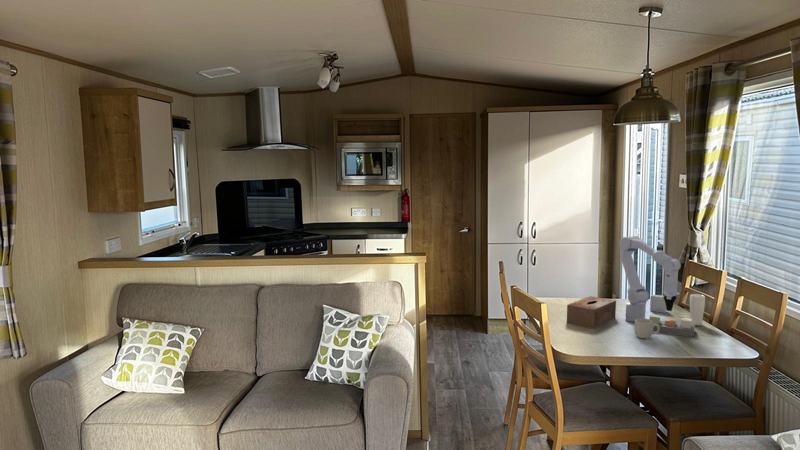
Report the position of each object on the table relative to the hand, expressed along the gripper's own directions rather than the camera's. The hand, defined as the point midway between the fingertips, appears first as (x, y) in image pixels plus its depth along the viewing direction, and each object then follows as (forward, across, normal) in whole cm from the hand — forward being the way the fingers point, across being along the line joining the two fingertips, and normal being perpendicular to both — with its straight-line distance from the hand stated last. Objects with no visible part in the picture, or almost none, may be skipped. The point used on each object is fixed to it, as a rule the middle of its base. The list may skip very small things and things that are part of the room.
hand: (669, 310), depth 281 cm
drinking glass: (+9, +15, -12) cm, 21 cm away
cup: (+9, -21, +8) cm, 24 cm away
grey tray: (+9, -4, -1) cm, 10 cm away
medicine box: (+10, +33, +8) cm, 35 cm away
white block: (+6, -3, -8) cm, 11 cm away
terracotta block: (+8, -3, -1) cm, 9 cm away
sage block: (+7, -4, +6) cm, 10 cm away
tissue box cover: (+10, -4, +36) cm, 38 cm away
